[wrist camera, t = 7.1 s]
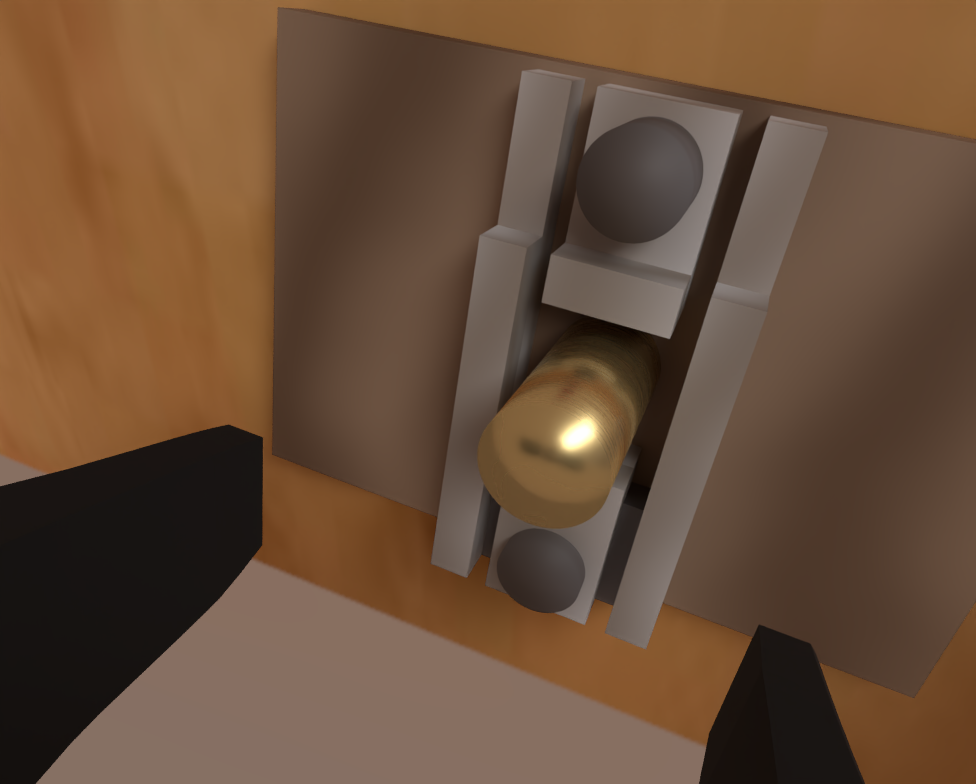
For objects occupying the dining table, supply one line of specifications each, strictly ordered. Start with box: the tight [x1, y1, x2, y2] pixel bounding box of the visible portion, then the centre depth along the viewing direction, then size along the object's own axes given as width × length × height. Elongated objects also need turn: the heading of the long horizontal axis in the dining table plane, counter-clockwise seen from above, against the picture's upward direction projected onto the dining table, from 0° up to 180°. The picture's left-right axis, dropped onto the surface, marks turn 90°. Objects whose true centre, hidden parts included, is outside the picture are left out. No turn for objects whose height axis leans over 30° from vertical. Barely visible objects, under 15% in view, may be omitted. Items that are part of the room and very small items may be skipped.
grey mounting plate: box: [272, 7, 976, 698], centre depth 16 cm, size 18×12×4 cm, turn 81°
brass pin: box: [477, 316, 661, 529], centre depth 15 cm, size 2×2×5 cm
